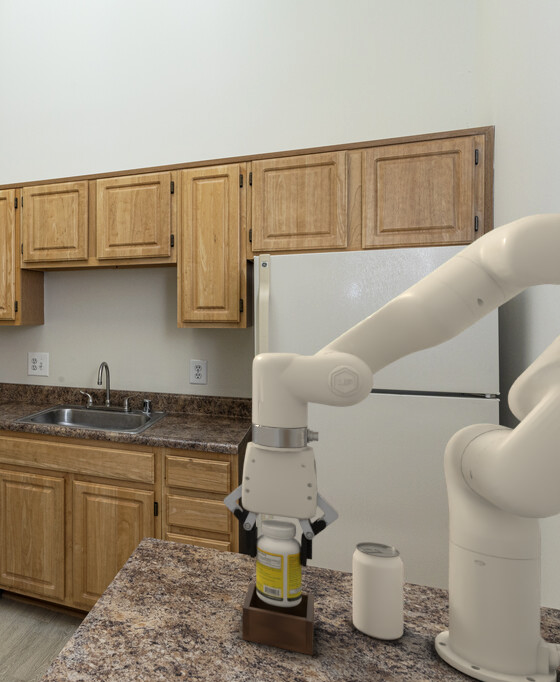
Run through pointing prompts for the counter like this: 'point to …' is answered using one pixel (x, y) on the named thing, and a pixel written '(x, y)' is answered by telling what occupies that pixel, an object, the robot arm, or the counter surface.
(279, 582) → the pill bottle
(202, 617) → the counter surface
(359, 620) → the can
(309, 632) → the box
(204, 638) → the counter surface
